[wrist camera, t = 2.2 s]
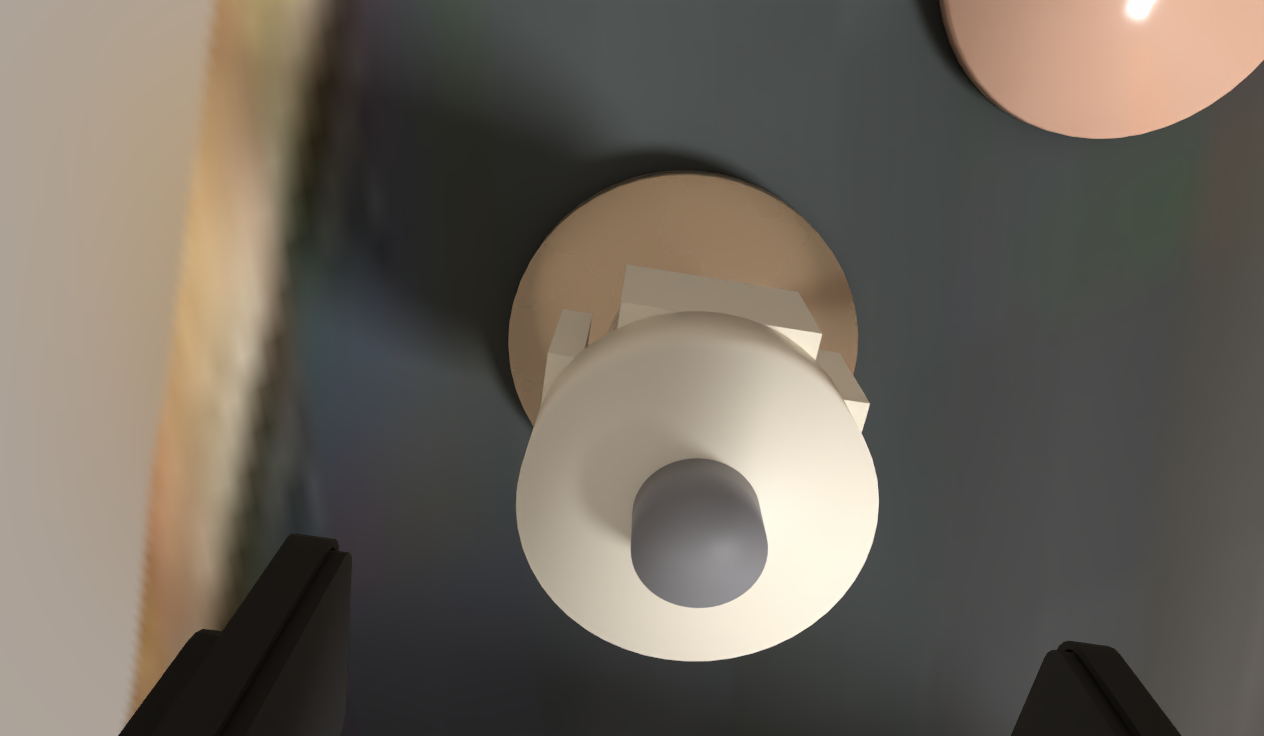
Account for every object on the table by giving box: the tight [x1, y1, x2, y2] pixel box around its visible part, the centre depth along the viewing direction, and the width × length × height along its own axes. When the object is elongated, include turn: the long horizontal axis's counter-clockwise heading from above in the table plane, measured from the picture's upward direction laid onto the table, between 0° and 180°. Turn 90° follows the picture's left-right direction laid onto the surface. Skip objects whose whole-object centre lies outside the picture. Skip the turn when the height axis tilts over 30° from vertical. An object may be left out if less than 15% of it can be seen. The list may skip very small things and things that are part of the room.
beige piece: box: [508, 170, 858, 426], centre depth 22 cm, size 10×10×8 cm
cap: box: [516, 264, 879, 661], centre depth 18 cm, size 7×7×6 cm
